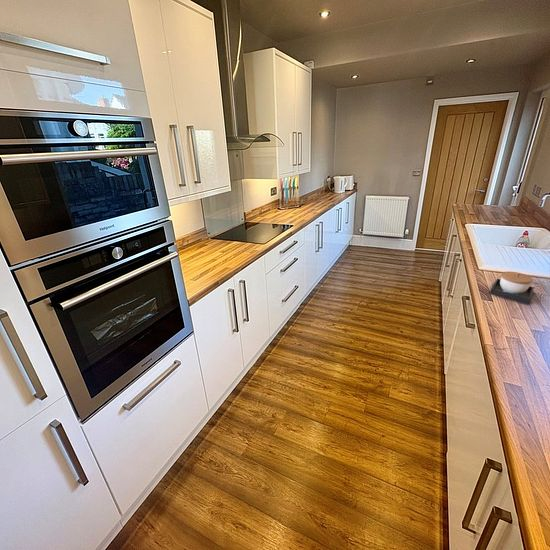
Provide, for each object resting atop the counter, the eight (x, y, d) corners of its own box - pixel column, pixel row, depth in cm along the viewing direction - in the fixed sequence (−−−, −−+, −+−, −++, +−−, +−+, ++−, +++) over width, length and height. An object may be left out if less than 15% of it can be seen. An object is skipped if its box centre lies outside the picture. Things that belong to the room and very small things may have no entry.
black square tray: (532, 292, 131) (534, 287, 129) (528, 304, 122) (530, 299, 121) (495, 283, 139) (497, 278, 138) (489, 293, 130) (491, 288, 129)
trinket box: (501, 295, 127) (508, 276, 123) (493, 285, 136) (499, 266, 132) (530, 299, 124) (538, 279, 120) (520, 288, 133) (527, 269, 129)
